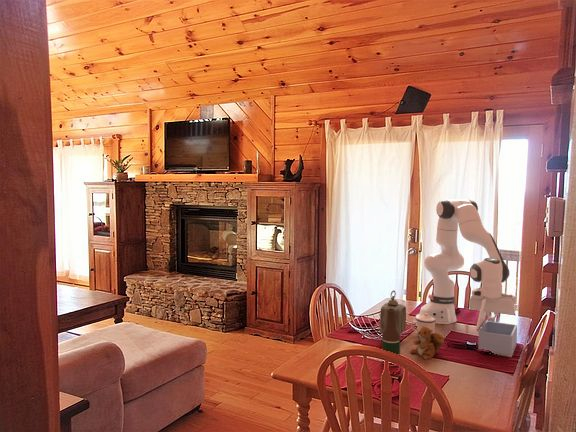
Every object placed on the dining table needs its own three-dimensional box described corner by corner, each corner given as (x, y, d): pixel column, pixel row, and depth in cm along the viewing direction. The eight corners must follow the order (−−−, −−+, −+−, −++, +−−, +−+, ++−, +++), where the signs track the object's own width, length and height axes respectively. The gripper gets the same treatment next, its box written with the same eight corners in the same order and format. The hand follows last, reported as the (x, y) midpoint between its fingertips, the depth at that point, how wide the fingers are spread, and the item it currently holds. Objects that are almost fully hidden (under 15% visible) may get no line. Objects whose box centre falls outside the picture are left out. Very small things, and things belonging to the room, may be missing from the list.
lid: (484, 301, 210) (481, 301, 211) (478, 331, 213) (475, 330, 213) (491, 293, 227) (489, 292, 227) (485, 321, 229) (482, 320, 230)
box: (511, 357, 205) (512, 336, 205) (478, 351, 213) (478, 331, 212) (516, 344, 222) (517, 325, 221) (485, 339, 230) (486, 320, 229)
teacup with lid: (434, 333, 239) (435, 311, 238) (435, 339, 230) (436, 316, 229) (410, 332, 242) (411, 310, 241) (411, 337, 233) (411, 315, 232)
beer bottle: (396, 368, 193) (397, 312, 191) (378, 365, 197) (379, 310, 196) (402, 362, 199) (402, 308, 198) (385, 359, 204) (385, 306, 202)
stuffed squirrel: (408, 352, 211) (408, 324, 211) (433, 348, 217) (433, 321, 216) (422, 360, 202) (422, 331, 201) (447, 356, 207) (448, 327, 206)
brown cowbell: (389, 334, 238) (389, 287, 236) (406, 337, 233) (407, 288, 232) (379, 342, 226) (380, 292, 224) (397, 345, 221) (398, 294, 219)
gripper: (517, 293, 215) (516, 322, 215) (470, 289, 226) (470, 316, 226) (515, 296, 209) (514, 326, 210) (468, 291, 220) (468, 319, 221)
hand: (491, 321), depth 218 cm, fingers closed
